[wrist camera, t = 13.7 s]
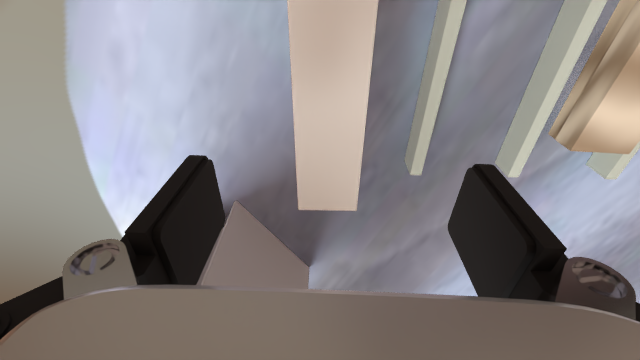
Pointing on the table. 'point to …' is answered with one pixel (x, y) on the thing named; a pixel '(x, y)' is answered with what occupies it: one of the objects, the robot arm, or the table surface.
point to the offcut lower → (593, 62)
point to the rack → (538, 99)
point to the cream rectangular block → (330, 97)
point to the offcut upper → (610, 98)
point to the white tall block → (252, 256)
